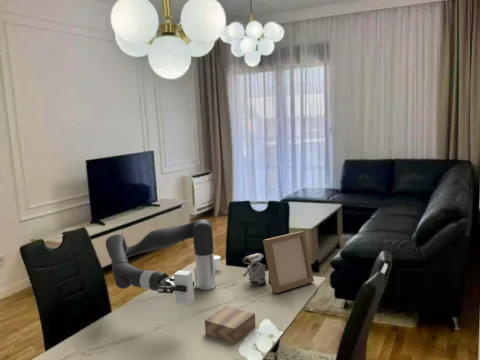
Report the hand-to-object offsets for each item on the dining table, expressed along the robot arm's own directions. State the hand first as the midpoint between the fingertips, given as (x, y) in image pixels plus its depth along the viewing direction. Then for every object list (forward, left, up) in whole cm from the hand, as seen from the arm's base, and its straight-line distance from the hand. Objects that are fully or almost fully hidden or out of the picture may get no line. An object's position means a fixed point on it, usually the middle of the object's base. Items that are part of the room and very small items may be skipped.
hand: (189, 286), depth 167 cm
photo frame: (+16, +58, -20) cm, 63 cm away
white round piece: (-28, +64, -20) cm, 72 cm away
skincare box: (-3, 0, -7) cm, 7 cm away
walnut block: (+12, +8, -20) cm, 25 cm away
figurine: (+1, +53, -20) cm, 57 cm away
